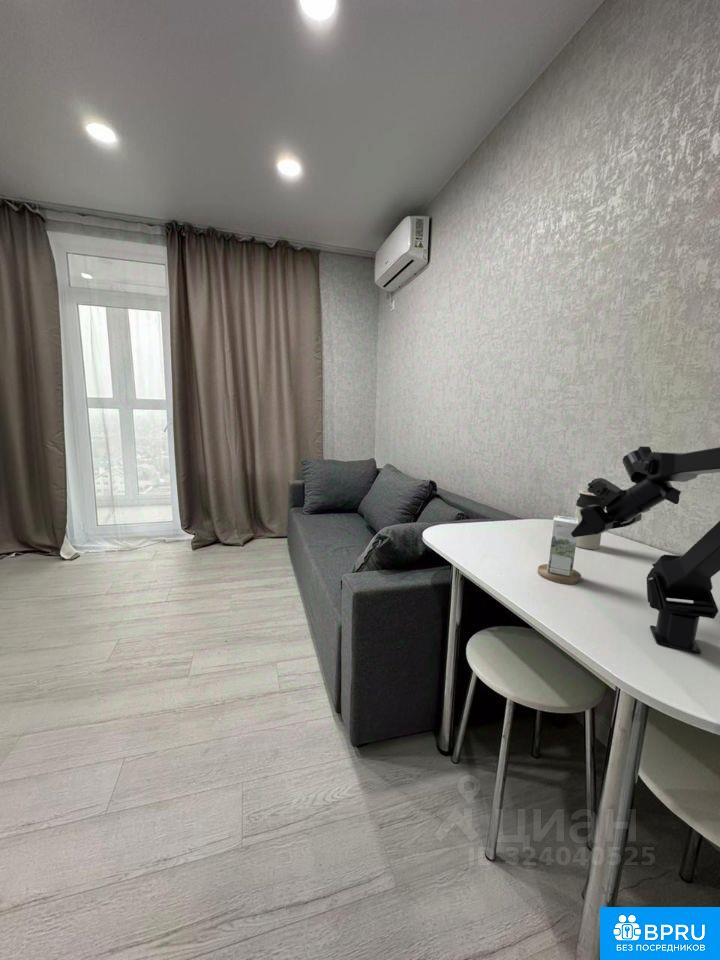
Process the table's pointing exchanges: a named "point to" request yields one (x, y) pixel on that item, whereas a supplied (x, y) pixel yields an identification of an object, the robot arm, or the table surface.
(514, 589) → the table surface
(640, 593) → the table surface
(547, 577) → the walnut stand
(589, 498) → the travel mug
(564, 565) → the syrup box
